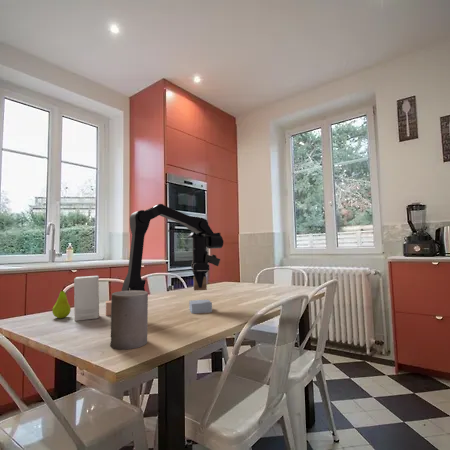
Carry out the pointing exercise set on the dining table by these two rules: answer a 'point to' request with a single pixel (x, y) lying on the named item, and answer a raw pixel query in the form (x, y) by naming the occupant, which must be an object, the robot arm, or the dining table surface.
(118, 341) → the pillar candle
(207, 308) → the slate slab
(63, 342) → the dining table surface
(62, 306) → the fruit
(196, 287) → the walnut cube
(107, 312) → the terracotta cube
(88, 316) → the skincare box
